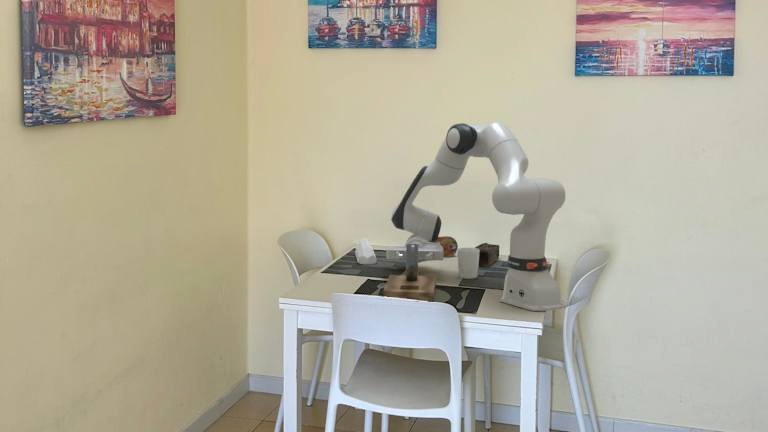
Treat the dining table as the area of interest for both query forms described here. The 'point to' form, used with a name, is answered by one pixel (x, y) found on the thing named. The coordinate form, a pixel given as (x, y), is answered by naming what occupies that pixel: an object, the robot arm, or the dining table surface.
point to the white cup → (468, 262)
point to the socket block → (410, 287)
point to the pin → (411, 262)
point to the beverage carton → (487, 254)
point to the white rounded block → (365, 252)
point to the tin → (448, 245)
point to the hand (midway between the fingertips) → (413, 257)
